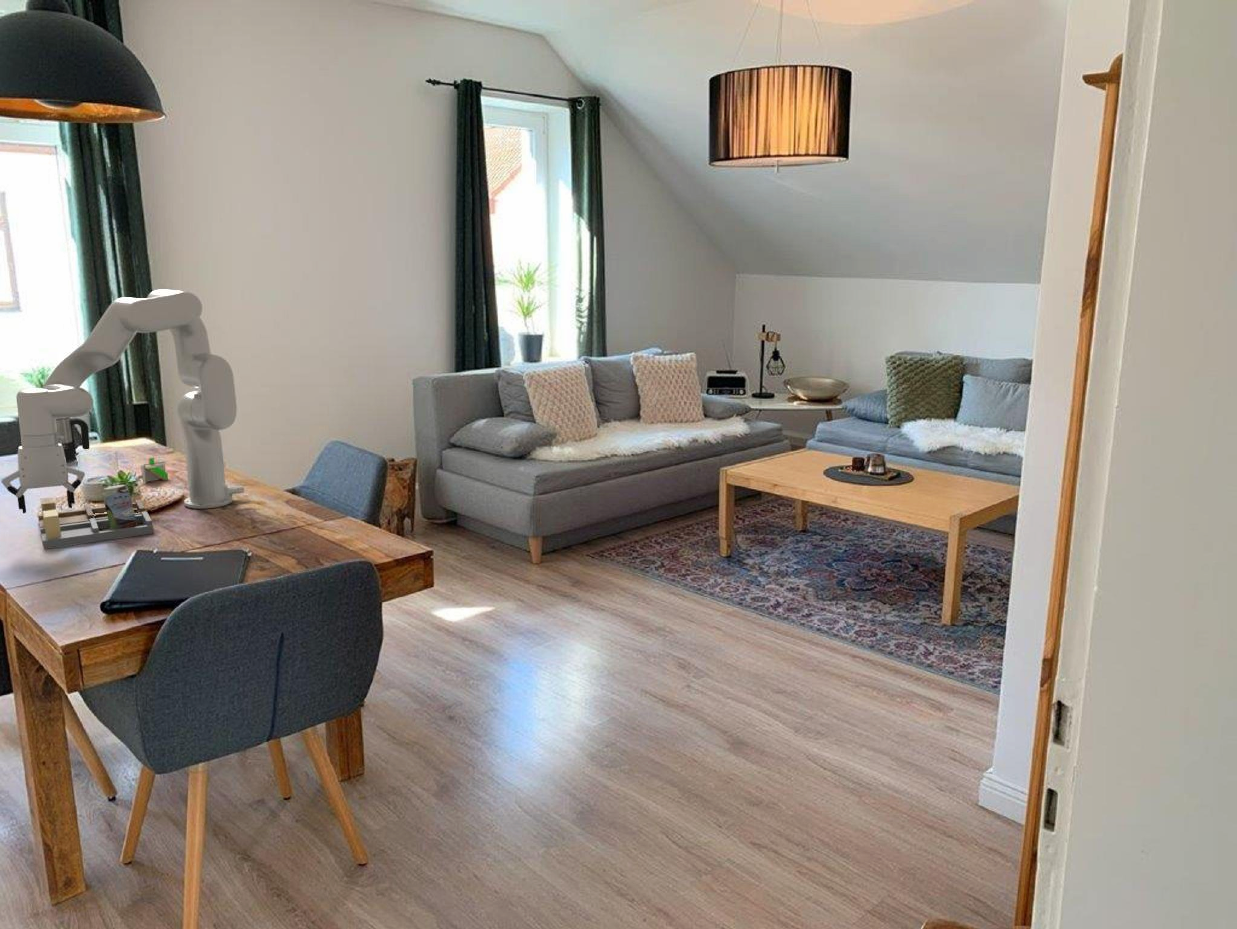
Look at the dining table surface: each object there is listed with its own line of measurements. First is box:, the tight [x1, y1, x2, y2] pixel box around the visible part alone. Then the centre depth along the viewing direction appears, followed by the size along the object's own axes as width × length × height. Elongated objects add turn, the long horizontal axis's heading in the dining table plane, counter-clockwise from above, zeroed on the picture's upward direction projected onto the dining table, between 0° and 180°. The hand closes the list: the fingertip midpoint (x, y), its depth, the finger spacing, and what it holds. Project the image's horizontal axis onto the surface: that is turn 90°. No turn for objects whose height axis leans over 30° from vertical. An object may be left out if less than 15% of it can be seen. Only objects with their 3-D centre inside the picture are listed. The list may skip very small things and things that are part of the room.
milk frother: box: [56, 417, 90, 463], centre depth 315 cm, size 14×16×15 cm
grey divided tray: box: [39, 508, 155, 550], centre depth 238 cm, size 24×12×7 cm, turn 123°
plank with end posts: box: [37, 496, 146, 532], centre depth 248 cm, size 24×12×7 cm, turn 123°
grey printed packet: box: [101, 484, 138, 530], centre depth 240 cm, size 6×7×12 cm
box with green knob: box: [140, 457, 169, 484], centre depth 288 cm, size 4×7×8 cm, turn 136°
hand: (47, 509), depth 231 cm, fingers open, 9 cm apart
